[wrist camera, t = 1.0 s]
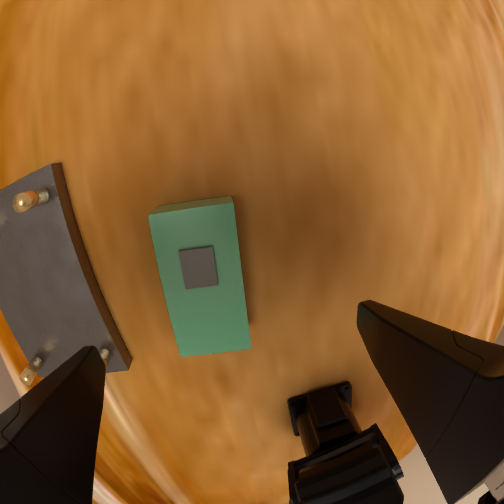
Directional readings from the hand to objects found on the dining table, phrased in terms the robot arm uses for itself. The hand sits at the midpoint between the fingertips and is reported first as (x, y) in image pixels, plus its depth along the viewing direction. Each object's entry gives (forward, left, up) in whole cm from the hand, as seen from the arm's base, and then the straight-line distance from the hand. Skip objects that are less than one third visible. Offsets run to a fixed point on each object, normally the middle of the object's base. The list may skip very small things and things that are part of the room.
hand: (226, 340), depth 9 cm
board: (-2, +2, -12) cm, 13 cm away
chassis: (0, +16, -12) cm, 20 cm away
